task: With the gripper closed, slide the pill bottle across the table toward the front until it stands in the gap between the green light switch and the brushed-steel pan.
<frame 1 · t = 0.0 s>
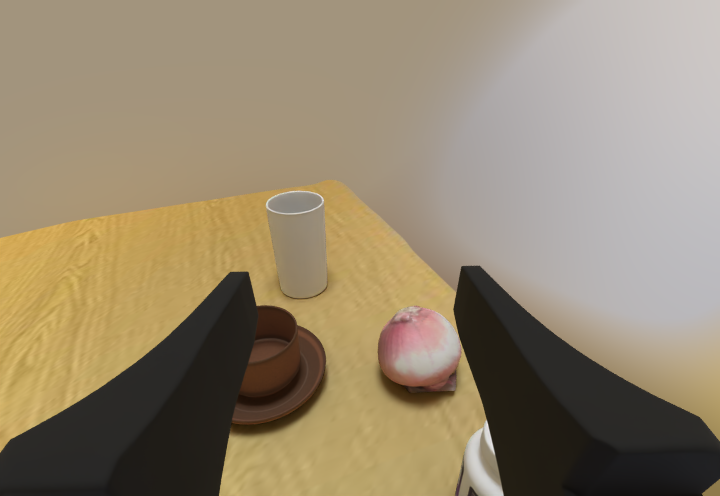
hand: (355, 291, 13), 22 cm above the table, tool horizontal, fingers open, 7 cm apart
cup and saucer: (265, 379, 37), on the table
onion: (418, 375, 37), on the table
mug: (304, 278, 51), on the table
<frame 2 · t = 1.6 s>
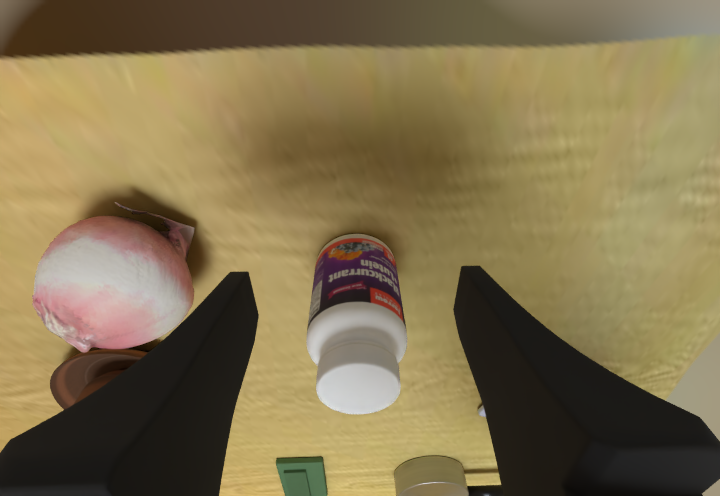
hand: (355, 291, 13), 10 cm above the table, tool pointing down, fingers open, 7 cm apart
cup and saucer: (143, 379, 32), on the table
green light switch: (303, 476, 43), on the table
pan: (428, 472, 44), on the table
onion: (151, 244, 24), on the table
pill bottle: (355, 262, 26), on the table
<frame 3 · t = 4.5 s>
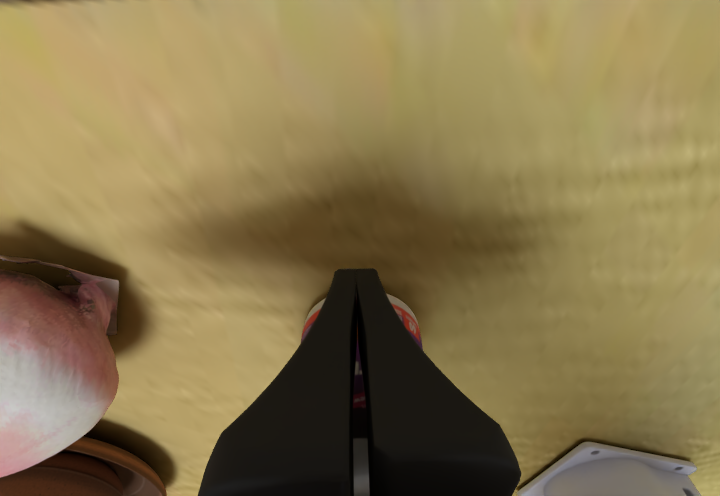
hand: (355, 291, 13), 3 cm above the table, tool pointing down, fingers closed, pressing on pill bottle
cup and saucer: (83, 459, 25), on the table
onion: (65, 300, 17), on the table
pill bottle: (360, 323, 18), on the table, touching gripper
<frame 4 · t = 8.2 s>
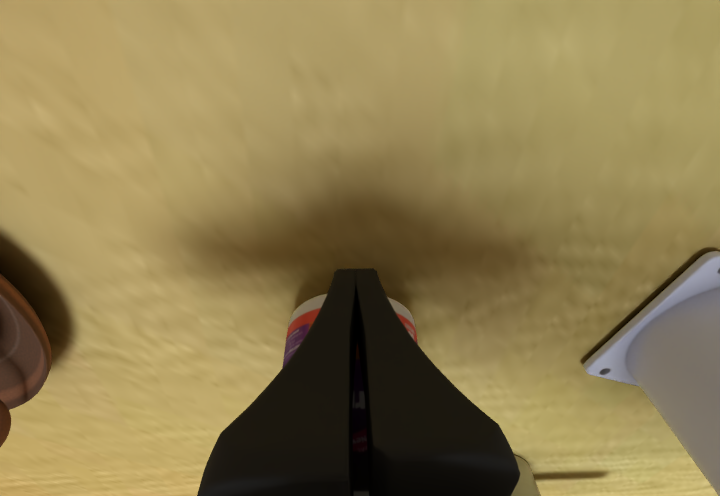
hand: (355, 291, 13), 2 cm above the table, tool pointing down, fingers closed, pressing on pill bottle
pan: (473, 478, 27), on the table
pill bottle: (351, 316, 16), point 1 cm above the table, touching gripper
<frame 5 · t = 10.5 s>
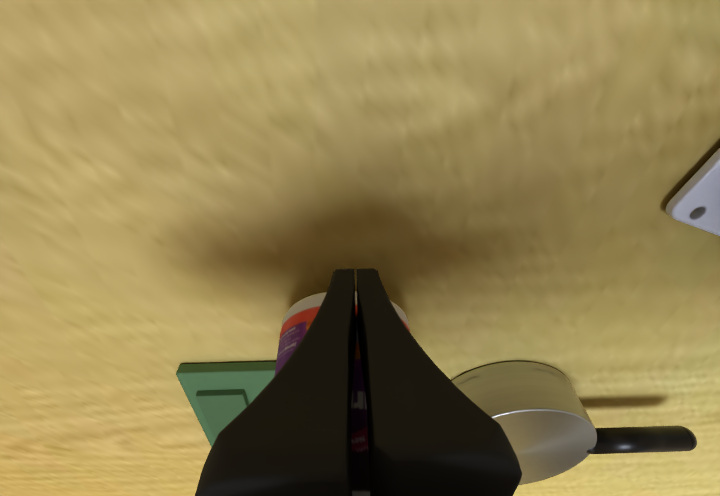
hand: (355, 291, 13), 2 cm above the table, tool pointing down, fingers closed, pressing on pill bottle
green light switch: (246, 412, 21), on the table
pan: (499, 405, 22), on the table
pill bottle: (345, 315, 16), point 1 cm above the table, touching gripper
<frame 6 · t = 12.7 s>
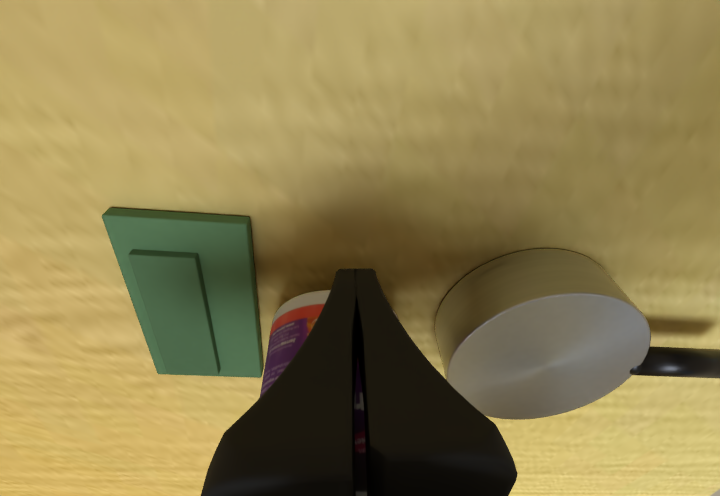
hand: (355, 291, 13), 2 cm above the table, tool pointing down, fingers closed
green light switch: (199, 301, 16), on the table
pan: (520, 317, 17), on the table
pill bottle: (336, 314, 16), point 1 cm above the table, touching gripper
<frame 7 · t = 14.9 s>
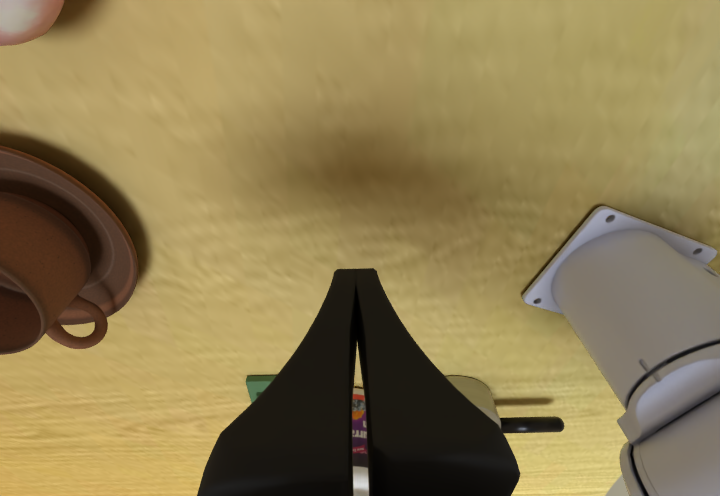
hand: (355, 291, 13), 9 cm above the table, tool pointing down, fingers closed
cup and saucer: (44, 228, 22), on the table
green light switch: (284, 406, 33), on the table
pan: (446, 402, 34), on the table
pill bottle: (351, 401, 33), on the table
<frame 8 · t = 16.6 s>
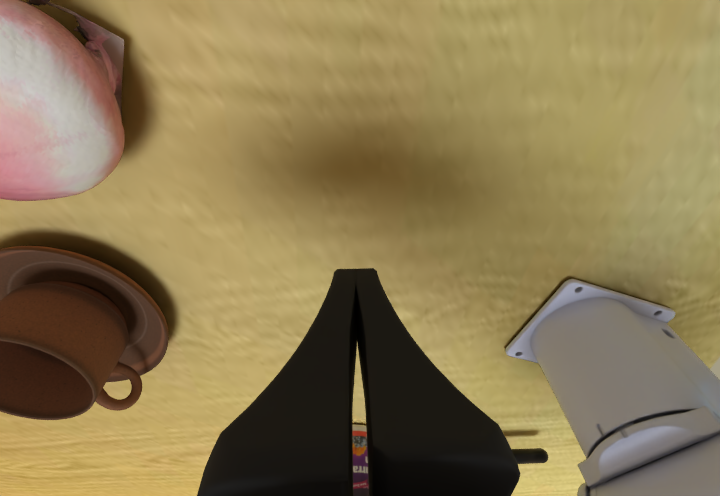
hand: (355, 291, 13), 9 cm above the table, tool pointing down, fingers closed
cup and saucer: (87, 302, 26), on the table
pan: (441, 435, 37), on the table
onion: (72, 81, 18), on the table
pill bottle: (354, 435, 37), on the table
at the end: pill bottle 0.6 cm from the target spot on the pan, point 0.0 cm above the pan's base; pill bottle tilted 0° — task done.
